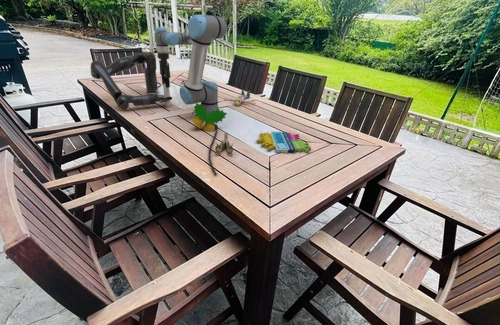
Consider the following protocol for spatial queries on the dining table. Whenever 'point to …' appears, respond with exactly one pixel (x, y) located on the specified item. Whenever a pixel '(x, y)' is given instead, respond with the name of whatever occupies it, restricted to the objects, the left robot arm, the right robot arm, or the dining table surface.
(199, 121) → the ornament
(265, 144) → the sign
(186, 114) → the dining table surface
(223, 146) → the jawbone
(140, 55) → the left robot arm
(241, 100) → the toy
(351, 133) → the dining table surface
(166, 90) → the bottle
